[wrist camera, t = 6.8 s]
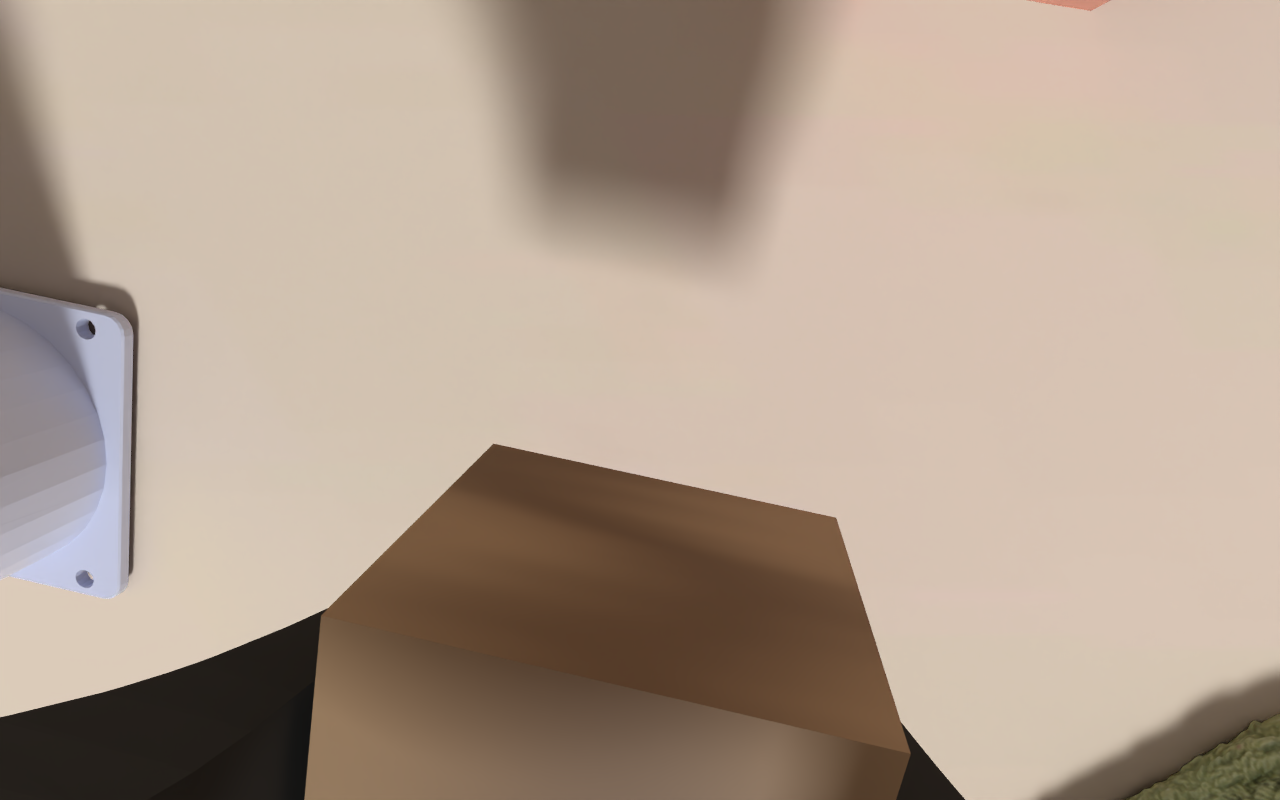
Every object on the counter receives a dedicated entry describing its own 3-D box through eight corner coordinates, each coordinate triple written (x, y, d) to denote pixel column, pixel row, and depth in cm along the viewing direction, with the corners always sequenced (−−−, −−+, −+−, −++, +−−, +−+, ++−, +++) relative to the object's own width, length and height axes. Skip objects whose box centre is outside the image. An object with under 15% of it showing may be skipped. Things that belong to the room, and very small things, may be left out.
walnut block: (451, 734, 13) (281, 1052, 8) (493, 443, 12) (321, 616, 7) (758, 808, 13) (771, 1187, 8) (836, 517, 11) (910, 753, 6)
